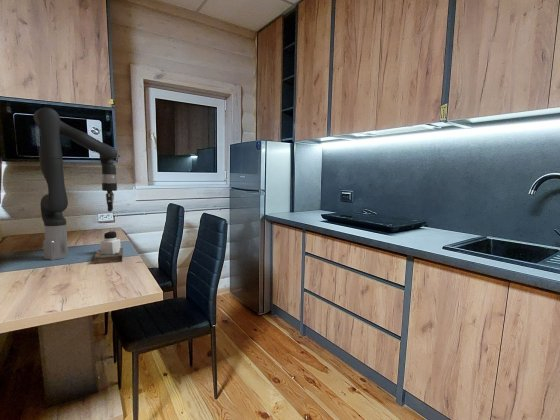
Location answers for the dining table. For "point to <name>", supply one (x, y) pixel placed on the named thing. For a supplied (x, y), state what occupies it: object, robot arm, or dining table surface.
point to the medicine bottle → (110, 243)
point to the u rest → (108, 257)
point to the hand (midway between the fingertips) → (110, 210)
